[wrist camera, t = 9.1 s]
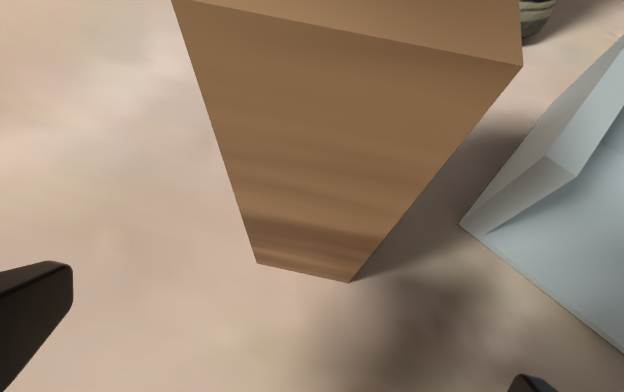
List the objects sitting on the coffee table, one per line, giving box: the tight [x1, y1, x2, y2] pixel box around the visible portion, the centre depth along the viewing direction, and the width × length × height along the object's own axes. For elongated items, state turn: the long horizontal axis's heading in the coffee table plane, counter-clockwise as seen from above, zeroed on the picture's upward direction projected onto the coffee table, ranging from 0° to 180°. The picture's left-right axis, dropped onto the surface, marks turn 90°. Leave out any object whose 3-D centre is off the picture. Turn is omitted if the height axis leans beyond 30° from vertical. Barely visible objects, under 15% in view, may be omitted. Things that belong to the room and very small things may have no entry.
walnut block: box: [171, 0, 523, 283], centre depth 12 cm, size 4×4×14 cm
